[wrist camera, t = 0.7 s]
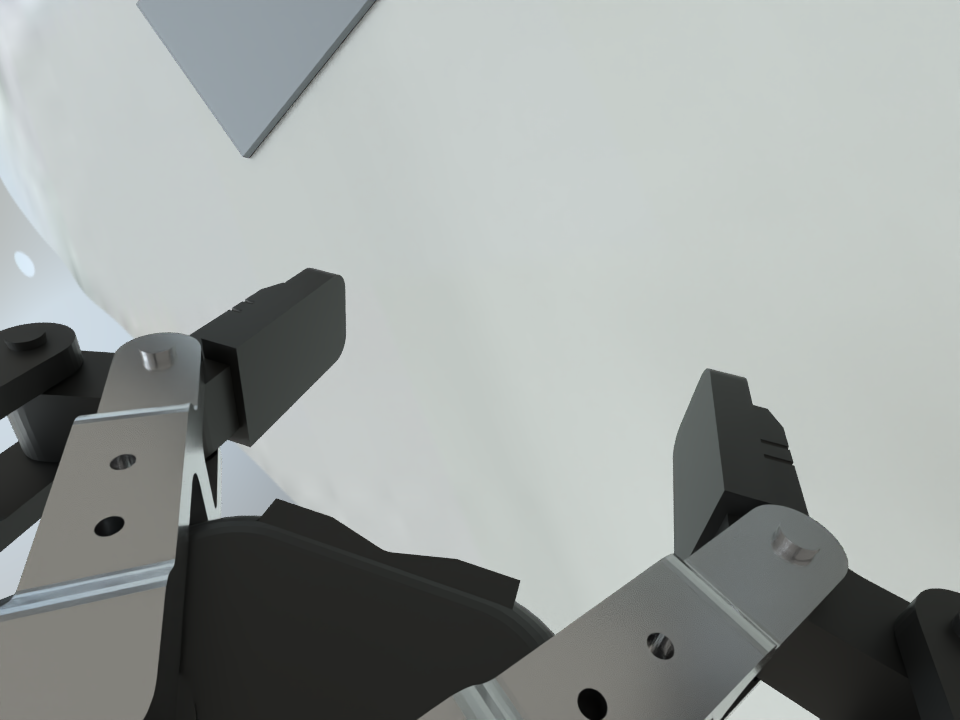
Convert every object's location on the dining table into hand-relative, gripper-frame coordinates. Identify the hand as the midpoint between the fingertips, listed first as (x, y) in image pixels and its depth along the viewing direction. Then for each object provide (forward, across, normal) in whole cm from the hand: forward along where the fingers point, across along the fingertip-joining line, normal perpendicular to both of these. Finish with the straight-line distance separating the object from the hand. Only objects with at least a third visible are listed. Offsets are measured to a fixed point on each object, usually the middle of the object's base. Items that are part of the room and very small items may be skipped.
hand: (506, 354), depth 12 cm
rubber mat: (+24, +23, -5) cm, 34 cm away
